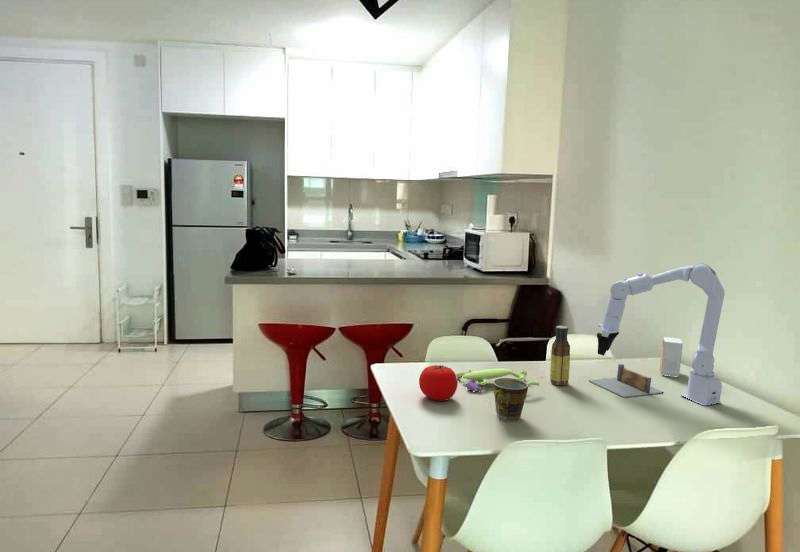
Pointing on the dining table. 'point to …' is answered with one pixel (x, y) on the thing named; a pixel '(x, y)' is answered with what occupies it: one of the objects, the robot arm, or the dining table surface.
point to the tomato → (438, 382)
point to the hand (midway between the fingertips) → (603, 352)
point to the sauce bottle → (560, 358)
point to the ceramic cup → (509, 397)
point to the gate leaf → (634, 379)
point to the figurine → (489, 377)
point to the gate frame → (623, 386)
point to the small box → (671, 356)
